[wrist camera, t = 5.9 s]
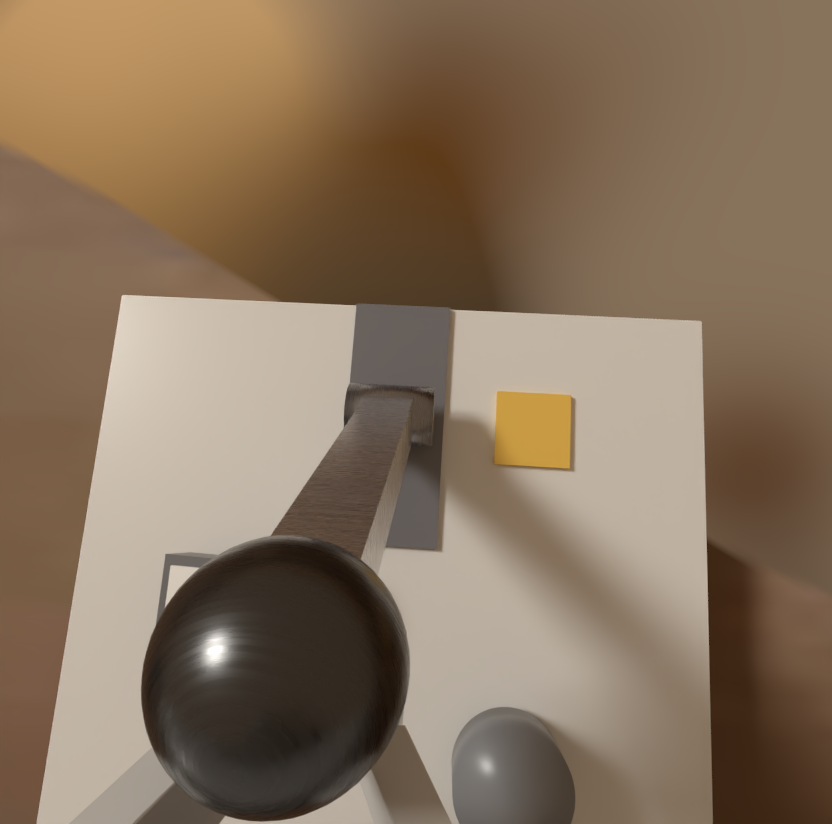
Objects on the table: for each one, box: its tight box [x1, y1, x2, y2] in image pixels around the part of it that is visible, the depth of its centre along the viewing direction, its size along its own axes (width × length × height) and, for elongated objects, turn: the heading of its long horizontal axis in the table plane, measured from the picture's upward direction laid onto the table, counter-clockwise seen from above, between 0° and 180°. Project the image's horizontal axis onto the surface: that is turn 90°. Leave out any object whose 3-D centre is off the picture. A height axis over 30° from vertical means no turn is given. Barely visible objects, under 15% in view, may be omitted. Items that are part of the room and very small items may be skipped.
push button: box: [451, 707, 575, 824], centre depth 16 cm, size 3×3×2 cm
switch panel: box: [37, 295, 713, 824], centre depth 20 cm, size 20×18×3 cm
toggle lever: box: [141, 383, 435, 822], centre depth 12 cm, size 3×3×14 cm
